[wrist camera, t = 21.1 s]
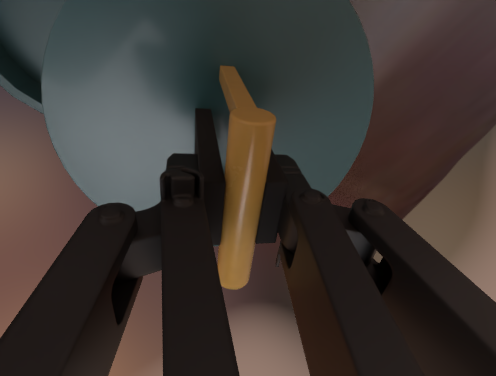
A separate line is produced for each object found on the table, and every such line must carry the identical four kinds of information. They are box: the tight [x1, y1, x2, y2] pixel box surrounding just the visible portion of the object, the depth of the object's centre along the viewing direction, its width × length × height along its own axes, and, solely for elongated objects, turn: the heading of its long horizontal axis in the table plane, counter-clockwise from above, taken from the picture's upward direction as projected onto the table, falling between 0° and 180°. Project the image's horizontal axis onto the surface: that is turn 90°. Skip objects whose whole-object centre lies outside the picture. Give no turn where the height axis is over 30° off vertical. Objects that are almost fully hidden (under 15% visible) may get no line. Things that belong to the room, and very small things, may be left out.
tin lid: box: [41, 0, 374, 290], centre depth 13 cm, size 17×17×8 cm
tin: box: [0, 0, 66, 114], centre depth 24 cm, size 16×16×3 cm
